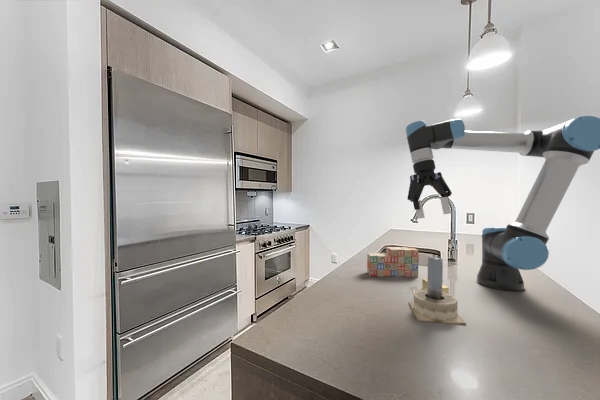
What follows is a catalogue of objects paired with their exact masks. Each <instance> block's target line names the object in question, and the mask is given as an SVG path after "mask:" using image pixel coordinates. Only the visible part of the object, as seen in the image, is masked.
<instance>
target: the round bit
mask: <svg viewBox="0 0 600 400" xmlns="http://www.w3.org/2000/svg"><path fill="white" fill-rule="evenodd" d="M443 261H444V260H443V258H441V257H438V256H437V257H435V256H427V279H428V282H427V298H430V299H434V300H442V284H443V274H444V273H443V267H444V266H443Z"/></svg>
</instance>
